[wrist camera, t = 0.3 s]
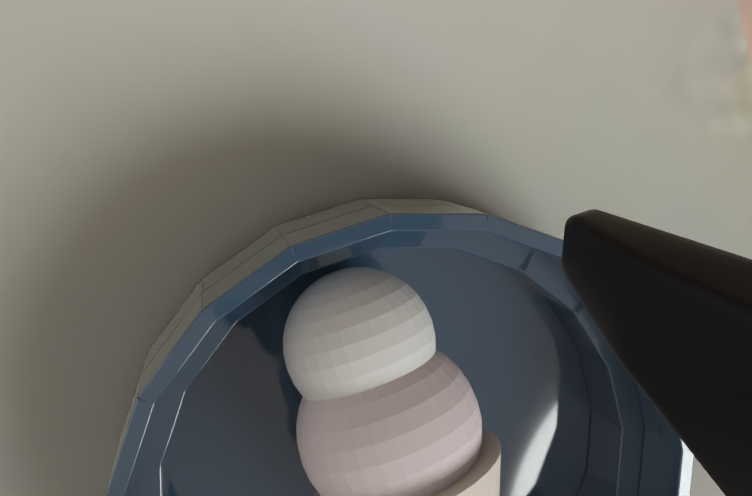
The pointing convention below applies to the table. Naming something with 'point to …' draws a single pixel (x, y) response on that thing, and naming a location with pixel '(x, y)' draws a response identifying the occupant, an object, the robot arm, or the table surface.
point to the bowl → (453, 338)
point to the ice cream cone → (382, 394)
